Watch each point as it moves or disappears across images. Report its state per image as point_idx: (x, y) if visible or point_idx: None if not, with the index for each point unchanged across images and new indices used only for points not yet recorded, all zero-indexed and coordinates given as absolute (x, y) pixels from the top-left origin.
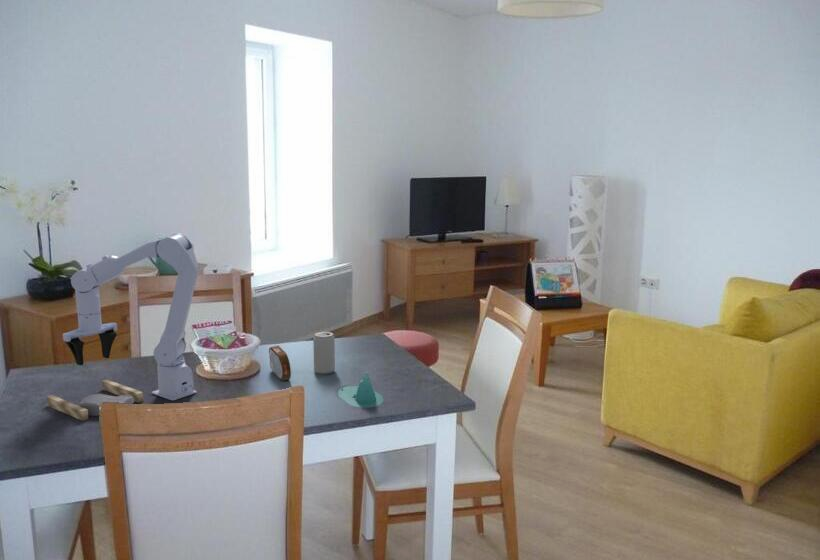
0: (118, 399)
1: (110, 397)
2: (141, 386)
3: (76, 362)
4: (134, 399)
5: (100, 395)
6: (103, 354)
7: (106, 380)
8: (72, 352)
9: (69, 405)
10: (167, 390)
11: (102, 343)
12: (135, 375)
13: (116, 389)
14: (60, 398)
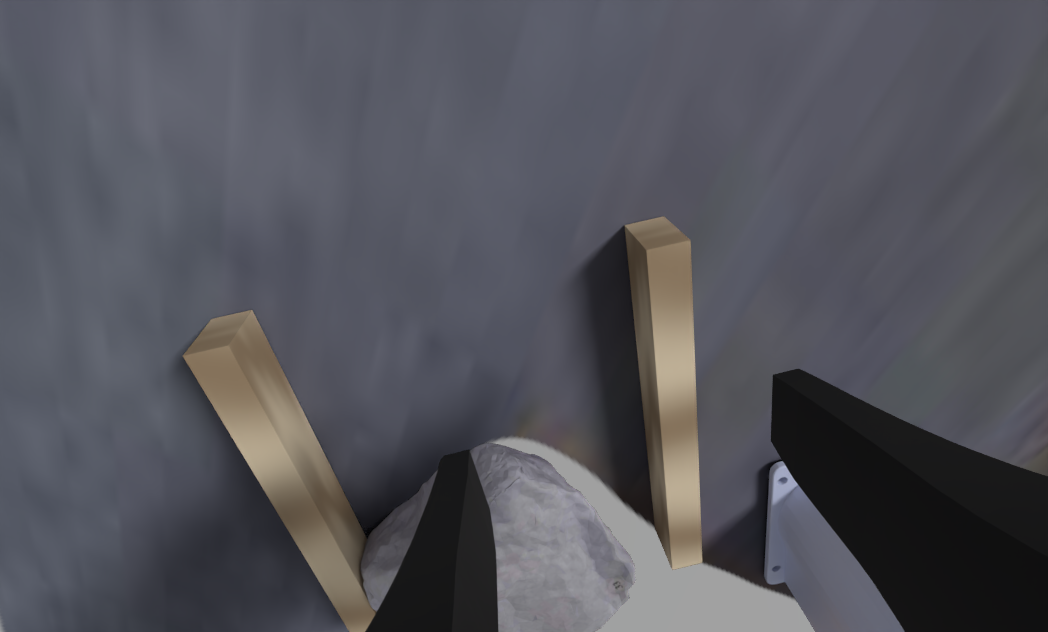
0: (551, 627)
1: (534, 585)
2: (817, 322)
3: (438, 474)
4: (655, 514)
5: (501, 546)
6: (793, 409)
7: (674, 262)
8: (393, 590)
9: (314, 563)
10: (800, 571)
11: (912, 505)
12: (966, 51)
13: (651, 395)
14: (279, 441)
